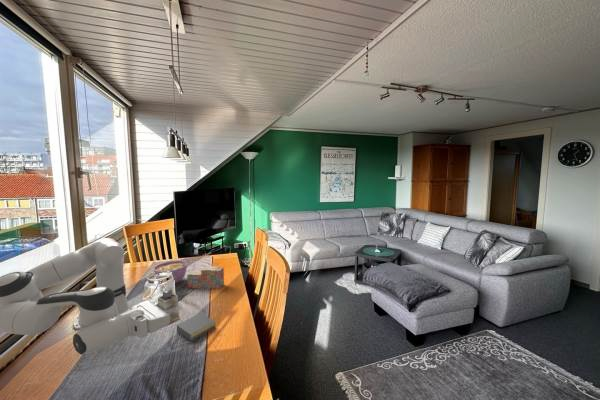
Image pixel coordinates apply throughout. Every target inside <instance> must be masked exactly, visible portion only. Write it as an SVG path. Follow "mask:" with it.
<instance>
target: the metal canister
mask: <svg viewBox="0 0 600 400" xmlns="http://www.w3.org/2000/svg"><path fill="white" fill-rule="evenodd" d="M172 293H173V289H166V290H164V291H162V296H163V300H164V301H165V300H168V299H170V298H172Z"/></svg>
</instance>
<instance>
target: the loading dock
mask: <svg viewBox="0 0 600 400" xmlns="http://www.w3.org/2000/svg"><path fill="white" fill-rule="evenodd" d="M216 326H217V324H216V321H215V320H214V319H212V318H210V317H208V316H206V315H205V314H203V313H202V312H200V313H197V314H196V315H193V316H192V317H189V318H188V319H186V320H184V321H182V322H179V323H178V324H176V332H177V333H179V334H181V336H183V337H185V338H186V339H188V340H189V342H193V341H195V340H196V339H197V338H199V337H201V336H203V335H205V334H206V333H208V332H210V331H211V330H213V329H214V328H216Z"/></svg>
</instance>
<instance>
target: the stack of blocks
mask: <svg viewBox="0 0 600 400" xmlns="http://www.w3.org/2000/svg"><path fill="white" fill-rule="evenodd" d="M224 269H225V268H224V266H204V267H203V268H202V269H201V270H191V271H190V272H189V273H187V276H186V277H187V278H186V279H187V289H203V290H204V289H205V290H206V289H209V290H210V289H212V290H222V288H223V286H224V285H225V278H224V276H225V274H224V273H225V272H224Z"/></svg>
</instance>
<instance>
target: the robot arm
mask: <svg viewBox="0 0 600 400" xmlns="http://www.w3.org/2000/svg"><path fill="white" fill-rule="evenodd" d="M124 256H125V250H124V247H123V246H122V244H120V243H119V242H118V241H116V240H115V239H113V238H111V237H105V238H104V237H103V238H100V239H98V240H95V241H93V242H92V243H89V244H87V245H85V246H83V247H81V248H79V249H76V250H74V251H71V252H69V253H67V254H64V255H62V256H59V257H56V258H53V259H51V260H48V261H46V262H44V263H41V264H39V265H37V266H35V267H33V268H31V269H29V270H27V271H14V272H9V273H6V274H4V275H1V276H0V331H1V332H3V333H8V334H12V335H13V334H14V335H20V336H21V335H22V336H33V335H38V334H41V333H43V332H46V331H48V330H49V329H50V328H51V327H53V326H54V324H56V323H57V321H58V320H59V318H60V316H61V314H62V310H63V307H68V306H77V308H78V310H79V314H78V316H77V317H75V319H74V320H73V323H72V324H73V329H75V330H79V331H77V332H75V333H74V334H73V335H72V344H73V347H74V350H75V351H76V352H77V354H79V355H81V356H82V355H83V356H84V355H88V354H92V353H94V352H97V351H100V350H102V349H105V348H107V347H109V346H111V345H114V343H116V342H118V341H120V340H123V339H127V338H129V337H135V338H136V337H137V338H140V339H143V338H146V337H147V336H148V335H149V334H152V333H155V332H156V331H159V330H161V329H164V328H165V326H166V327H168V326H169V325H168V324H169V323H170V314H171V313H172V312H175V311H176V308H175V307H174V306H172V307H170V308H169V310H165V311H163V310H162V309H160V308H159V307H158V302H155V303H153V302H152V301H150V300H143V301H141V302H137V303H136V304H134V305H132V306H130V305H129V303H128V299H127V286H126V284H125V278H124V263H125V262H124V261H125V257H124ZM93 267H96V269H95V278H96V287H93V288H88V289H80V290H71V291H63V292H55V293H51V294H48V295H45V296H44V294H43V292H42V290H44V289H47V288H50V287H54V286H56V285H59V284H61V283H64V282H66V281H68V280H71V279H73V278H75V277H77V276H80V275H82V274H84V273H86V272H88V270H90V269H92V268H93ZM167 325H168V326H167Z"/></svg>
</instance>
